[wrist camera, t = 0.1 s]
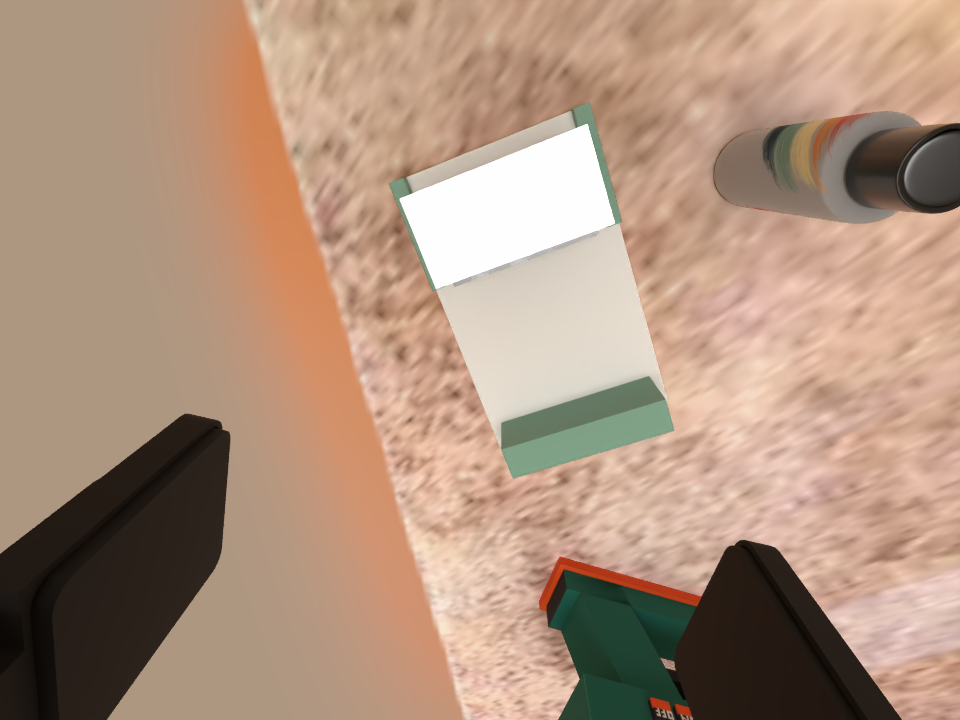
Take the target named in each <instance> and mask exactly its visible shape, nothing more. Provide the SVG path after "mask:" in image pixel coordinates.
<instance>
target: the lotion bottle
mask: <svg viewBox="0 0 960 720" xmlns="http://www.w3.org/2000/svg"><path fill="white" fill-rule="evenodd" d="M714 180H715V184H716V187H717V190H718V191H719V193H720V194H721V196H722V197H723V198H724V199H726V200H727V201H728V202H730V203H732V204H735V205H738V206H742V207H747V208H753V209H760V210H766V211H773V212H779V213H785V214H792V215H798V216H805V217H811V218H817V219H824V220H830V221H837V222H844V223H853V224H866V223H873V222H877V221H880V220H883V219H885V218H888V217H890V216H892V215H893V214H895V213H897V212H898V211H905V212H916V213H929V214H934V213H943V212H947V211H950V210H953V209H955V208H957V207H959V206H960V123H951V124H938V125H927V126H922V125H921V124H920V123H919V122H918V121H916V120H915V119H914V118H912V117H910V116H908V115H906V114H903V113H899V112H892V111H883V112H872V113H865V114H858V115H851V116H845V117H838V118H832V119H825V120H819V121H812V122H805V123H799V124H792V125H786V126H779V127H773V128H766V129H760V130H755V131H750V132H747V133H744V134H742V135H740V136H738V137H736V138H735V139H733V140H732V141H731V142H729V143H728V144H727V145H726V146H725V148H724V149H723V150H722V152H721V153H720V155H719V157H718V159H717V162H716V165H715V170H714Z"/></svg>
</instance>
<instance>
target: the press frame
mask: <svg viewBox="0 0 960 720" xmlns="http://www.w3.org/2000/svg"><path fill="white" fill-rule="evenodd" d="M584 125H588V129H589V133H590V136H591V140H592V143H593V147H594V150H595V154H596V158H597V161H598V165H599V168H600V172H601V176H602V179H603V183H604V186H605V190H606V194H607V197H608V201H609V204H610V208H611V212H612V215H613V219H614V222H615V224H612V225H609V226H606V227H604V228H601V229H599V233H600V234H599V235H596V236H593V237H591V238H588V239H585V240H582V241H580V242H577V243H574V244H571V245H569V246H566V247H563V248H560V249H558V250H555V251H552V252H549V253H547V254H544V255H541V256H538V257H536V258H533V259H530V260H527V261H525V262H522V263H519V264H516V265H514V266H511V267H508V268H505V269H503V270H500V271H497V272H494V273H492V274H489V275H486V276H483V277H481V278H478V279H475V280H472V281H470V282H467V283H464V284H461V285H459V286H456V287H454V286H453V283H450V284H448V285H445V286H442V287H439V288H437V289H436V287H435V285H434V282H433V280H432V277H431V275H430V272H429V270H428V267H427V265H426V262H425V260H424V258H423V255H422V253H421V250H420V248H419V245H418V243H417V240H416V238H415V235H414V233H413V230H412V228H411V225H410V223H409V221H408V218H407V216H406V213H405V211H404V208H403V206H402V203H401V201H400V199H401V198H403V197H406V196H408V195H411V194H413V193H416V192H419V191H421V190H424V189H426V188H429V187H431V186H434V185H436V184H439V183H441V182H444V181H446V180H449V179H451V178H454V177H456V176H459V175H461V174H464V173H466V172H469V171H471V170H474V169H476V168H479V167H481V166H484V165H486V164H489V163H491V162H494V161H496V160H499V159H501V158H504V157H506V156H509V155H511V154H514V153H516V152H519V151H521V150H524V149H526V148H529V147H531V146H534V145H536V144H539V143H541V142H544V141H546V140H549V139H551V138H554V137H556V136H559V135H561V134H564V133H566V132H569V131H572V130H574V129H577V128H579V127H582V126H584ZM389 185H390V187H391V190H392V192H393V195H394V197H395V200H396V202H397V205H398V207H399V210H400V212H401V214H402V217H403V219H404V222H405V224H406V227H407V229H408V232H409V234H410V236H411V239H412V241H413V244H414V246H415V249H416V251H417V254H418V256H419V258H420V261H421V263H422V266H423V268H424V271H425V273H426V276H427V278H428V281H429V283H430V285H431V288H432V290H433V291H435V290H436V291H437V293H438V296H439V298H440V301H441V303H442V306H443V308H444V311H445V313H446V316H447V318H448V321H449V323H450V325H451V328H452V330H453V333H454V335H455V338H456V340H457V343H458V345H459V348H460V350H461V353H462V355H463V357H464V360H465V362H466V365H467V367H468V370H469V372H470V375H471V377H472V380H473V382H474V385H475V387H476V390H477V392H478V394H479V397H480V399H481V402H482V404H483V407H484V409H485V412H486V414H487V417H488V419H489V422H490V424H491V426H492V429H493V431H494V434H495V436H496V439H497V441H498V444H499V446H500V449H501V451H502V453H503V455H504V458H505V460H506V463H507V465H508V468H509V470H510V472H511V475H512V477H513V478H517V477H520V476H524V475H527V474H530V473H534V472H537V471H540V470H544V469H547V468H551V467H554V466H557V465H561V464H564V463H567V462H571V461H574V460H577V459H581V458H584V457H588V456H591V455H594V454H598V453H601V452H604V451H608V450H611V449H615V448H618V447H621V446H625V445H628V444H631V443H635V442H638V441H642V440H645V439H648V438H652V437H655V436H658V435H662V434H665V433H669V432H672V431H674V427H673V424H672V420H671V416H670V413H669V409H668V406H667V402H668V399H667V396H666V392H665V388H664V385H663V381H662V377H661V374H660V370H659V367H658V363H657V359H656V356H655V352H654V348H653V345H652V341H651V337H650V334H649V330H648V327H647V323H646V319H645V316H644V312H643V308H642V305H641V301H640V298H639V294H638V290H637V287H636V283H635V279H634V276H633V272H632V268H631V265H630V261H629V258H628V254H627V250H626V247H625V243H624V239H623V236H622V232H621V228H620V225H619V223H621V222H622V219H621V215H620V212H619V208H618V204H617V201H616V197H615V193H614V190H613V186H612V182H611V179H610V175H609V171H608V168H607V164H606V160H605V157H604V153H603V149H602V146H601V142H600V139H599V135H598V131H597V128H596V124H595V120H594V117H593V113H592V109H591V106H590V102H588V103H586V104H583V105H581V106H578V107H576V108H573V109H572V110H571V111H569V112H566V113H564V114H561V115H559V116H556V117H554V118H552V119H549V120H547V121H544V122H542V123H539V124H537V125H534V126H532V127H529V128H527V129H524V130H522V131H519V132H517V133H514V134H512V135H510V136H507V137H505V138H502V139H500V140H497V141H495V142H492V143H490V144H487V145H485V146H482V147H480V148H477V149H475V150H472V151H470V152H468V153H465V154H463V155H460V156H458V157H455V158H453V159H450V160H448V161H445V162H443V163H440V164H438V165H435V166H433V167H430V168H428V169H426V170H423V171H421V172H418V173H416V174H413V175H411V176H408V177H404V178H401V179H398V180H396V181H393V182H391V183H389Z"/></svg>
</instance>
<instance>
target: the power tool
mask: <svg viewBox="0 0 960 720" xmlns="http://www.w3.org/2000/svg"><path fill="white" fill-rule="evenodd" d="M700 599H701V597H700V596H697V595H693V594H690V593H686V592H683V591H679V590H676V589H672V588H669V587H665V586H662V585H658V584H654V583H651V582H647V581H644V580H640V579H637V578H633V577H630V576H626V575H623V574H619V573H616V572H612V571H609V570H605V569H602V568H598V567H594V566H591V565H587V564H584V563H580V562H577V561H573V560H570V559H566V558H563V557H559V559H558V561H557V563H556V566H555V568H554V570H553V572H552V574H551V576H550V579H549V581H548V583H547V585H546V587H545V589H544V592H543V594H542V596H541V598H540V600H539V605H540V609H542V610H546V611H547V619H548V627H550V628H554V629H557V630H561V631H562V634H563V636H564V639H565V642H566V644H567V647H568V649H569V652H570V655H571V657H572V660H573V663H574V665H575V668H576V670H577V673H578V676H579V678H580V680H579V682H578V684H577V686H576V687H575V689H574V691H573V693H572V695H571V697H570V699H569V701H568V702H567V704H566V706H565V708H564V710H563V712H562V714H561V716H560V717H559V719H558V720H693V718H692V715H691V712H690V709H689V706H688V703H687V701H686V698H685V695H684V692H683V689H682V686H681V683H680V681H679V678H678V675H677V672H676V671H674V670H671V669H667V668H665V666H664V664H663V663H662V661H661V659H660V658H664V659H667V660H671V661H674V655H675V650H676V647H677V645H678V643H679V641H680V639H681V637H682V635H683V633H684V631H685V629H686V627H687V625H688V623H689V621H690V619H691V617H692V615H693V613H694V611H695V609H696V607H697V605H698V603H699V601H700Z"/></svg>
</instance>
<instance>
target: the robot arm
mask: <svg viewBox="0 0 960 720" xmlns="http://www.w3.org/2000/svg"><path fill="white" fill-rule="evenodd" d="M229 449H230V433H229V432H228V431H225V430H222V424H221V422H220V421H218V420H214V419H209V418H205V417H201V416H196V415H192V414H184V415H182V416H181V417H179V418H178V419H177V420H175V421H174V422H173V423H171V424H170V425H169V426H168V427H166V428H165V429H164V430H162V431H161V432H160V433H159V434H157V435H156V436H155V437H153V438H152V439H151V440H149V441H148V442H147V443H145V444H144V445H143V446H142V447H140V448H139V449H138V450H137V451H135V452H134V453H133V454H131V455H130V456H129V457H127V458H126V459H125V460H123V461H122V462H121V463H120V464H119V465H117V466H116V467H115V468H113V469H112V470H110V471H109V472H108V473H107V474H105V475H104V476H103V477H102V478H100V479H98V480H96V481H95V482H93V483H92V484H91V485H89V486H88V487H87V488H85V489H84V490H83V491H81V492H80V493H79V494H77V495H76V496H75V497H74V498H72V499H71V500H70V501H68V502H67V503H66V504H65V505H63V506H62V507H61V508H59V509H58V510H57V511H55V512H54V513H53V514H51V515H50V516H49V517H48V518H46V519H45V520H44V521H42V522H41V523H40V524H38V525H37V526H36V527H35V528H33V529H32V530H31V531H29V532H28V533H27V534H26V535H24V536H23V537H21V538H20V539H19V540H18V541H16V542H15V543H14V544H12V545H11V546H10V547H8V548H7V549H6V550H5V551H3V552H2V553H1V554H0V720H107V718H108V717H109V716H110V714H111V713H112V711H113V710H114V709H115V707H116V706H117V705H118V703H119V702H120V700H121V699H122V697H123V696H124V695H125V693H126V692H127V691H128V689H129V688H130V686H131V685H132V684H133V682H134V681H135V679H136V678H137V677H138V675H139V674H140V672H141V671H142V670H143V668H144V667H145V666H146V664H147V663H148V661H149V660H150V659H151V657H152V656H153V654H154V653H155V651H156V650H157V649H158V647H159V646H160V644H161V643H162V642H163V640H164V639H165V637H166V636H167V635H168V633H169V632H170V631H171V629H172V628H173V626H174V625H175V624H176V622H177V621H178V619H179V618H180V617H181V615H182V614H183V612H184V611H185V610H186V608H187V607H188V605H189V604H190V603H191V601H192V600H193V599H194V597H195V596H196V594H197V593H198V592H199V590H200V589H201V587H202V586H203V585H204V583H205V582H206V580H207V579H208V577H209V576H210V575H211V573H212V572H213V570H214V569H215V567H216V565H217V563H218V560H219V558H220V554H221V550H222V539H223V526H224V514H225V501H226V488H227V475H228V462H229ZM674 662H675V668H676V672H677V675H678V678H679V681H680V683H681V686H682V689H683V692H684V695H685V698H686V701H687V703H688V706H689V709H690V712H691V715H692V718H693V720H902V719H901V718H900V716H899V715H898V714H897V712H896V711H895V710H894V708H893V707H892V705H891V704H890V703H889V701H888V700H887V699H886V697H885V696H884V694H883V693H882V692H881V690H880V689H879V688H878V686H877V685H876V683H875V682H874V681H873V679H872V678H871V677H870V675H869V674H868V673H867V671H866V670H865V668H864V667H863V666H862V664H861V663H860V662H859V660H858V659H857V657H856V656H855V655H854V653H853V652H852V651H851V649H850V648H849V646H848V645H847V644H846V642H845V641H844V640H843V638H842V637H841V635H840V634H839V633H838V631H837V630H836V629H835V627H834V626H833V624H832V623H831V622H830V620H829V619H828V618H827V616H826V615H825V613H824V612H823V611H822V609H821V608H820V607H819V605H818V604H817V602H816V601H815V600H814V598H813V597H812V596H811V594H810V593H809V592H808V590H807V589H806V587H805V586H804V585H803V583H802V582H801V581H800V579H799V578H798V576H797V575H796V574H795V572H794V571H793V570H792V568H791V567H790V565H789V564H788V563H787V561H786V560H785V559H784V557H783V556H782V554H781V553H780V552H779V551H778V550H777V549H776V548H775V547H772V546H769V545H764V544H760V543H755V542H751V541H747V540H740V541H739V542H737V543H736V544H735V546H729V547H728V548H727V549H726V550H725V552H724V554H723V556H722V558H721V560H720V562H719V564H718V566H717V568H716V570H715V571H714V573H713V575H712V577H711V579H710V581H709V583H708V585H707V587H706V589H705V591H704V593H703V595H702V597H701V599H700V601H699V603H698V605H697V607H696V609H695V611H694V613H693V615H692V617H691V619H690V621H689V623H688V625H687V627H686V629H685V631H684V633H683V635H682V637H681V639H680V641H679V643H678V645H677V647H676V650H675V655H674Z"/></svg>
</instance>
